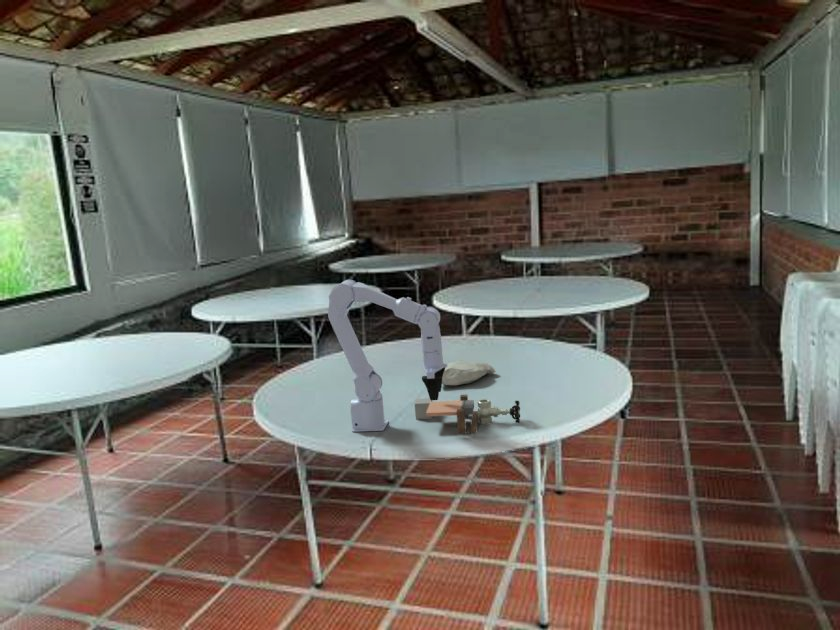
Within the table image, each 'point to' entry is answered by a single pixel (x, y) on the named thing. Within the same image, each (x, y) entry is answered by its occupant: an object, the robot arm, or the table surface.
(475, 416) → the frame
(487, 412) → the valve
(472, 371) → the rock
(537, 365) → the table surface
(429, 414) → the trapdoor
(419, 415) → the stone block
